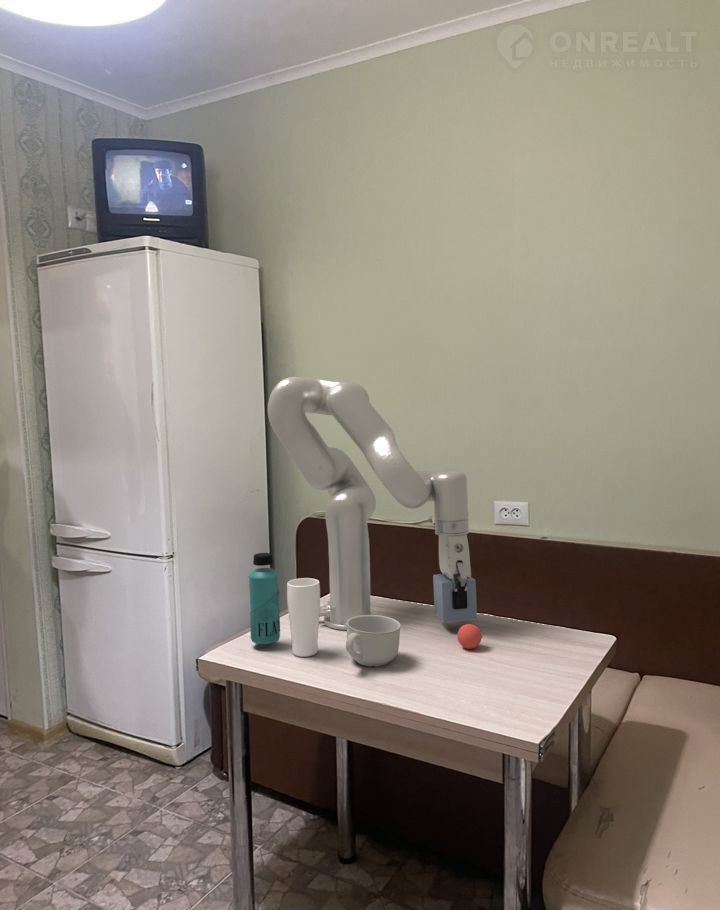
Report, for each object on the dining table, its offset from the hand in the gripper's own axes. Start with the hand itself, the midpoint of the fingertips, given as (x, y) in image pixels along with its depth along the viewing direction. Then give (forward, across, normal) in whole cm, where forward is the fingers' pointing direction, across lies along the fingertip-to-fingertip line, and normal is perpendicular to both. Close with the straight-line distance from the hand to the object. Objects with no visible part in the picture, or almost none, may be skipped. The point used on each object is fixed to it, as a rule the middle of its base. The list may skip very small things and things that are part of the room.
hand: (454, 602), depth 158 cm
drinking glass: (+5, -9, +35) cm, 36 cm away
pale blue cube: (+3, 0, 0) cm, 3 cm away
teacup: (+6, -17, +23) cm, 29 cm away
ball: (+3, -13, +1) cm, 13 cm away
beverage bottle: (+5, -3, +43) cm, 43 cm away
